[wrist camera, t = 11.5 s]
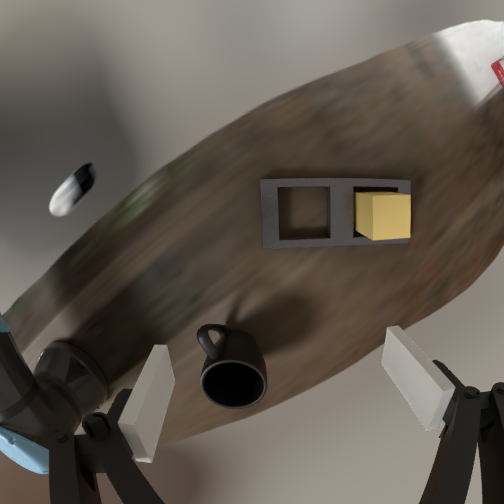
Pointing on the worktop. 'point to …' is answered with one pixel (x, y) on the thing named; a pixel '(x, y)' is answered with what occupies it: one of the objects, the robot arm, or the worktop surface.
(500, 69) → the ink box
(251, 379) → the mug
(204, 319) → the worktop surface
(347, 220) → the frame with square openings
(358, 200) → the yellow block
